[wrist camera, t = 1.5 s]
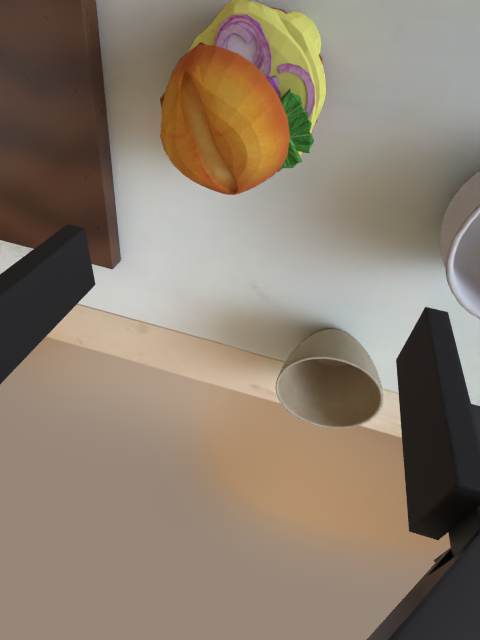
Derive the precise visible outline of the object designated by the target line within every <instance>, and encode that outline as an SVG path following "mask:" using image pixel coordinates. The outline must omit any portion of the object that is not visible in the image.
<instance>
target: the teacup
mask: <svg viewBox="0 0 480 640" xmlns="http://www.w3.org/2000/svg"><path fill="white" fill-rule="evenodd" d="M440 247H441V253H442V257H443V261H444V265H445V268H446V277H447V281H448V284H449V287H450V289H451V291H452V294H453V295H454V296H455V298H456V300H457V301H458V302H459V304H460V305H461V306H462V307H463V308H465V309H466V310H467V311H468V312H469V313H471V314H472V315H474V316H476V317H477V318H479V319H480V171H478V172H477V173H476V174H475V175H473V176H472V177H471V178H470V179H469V180H468V181H467V182H466V183H464V185H463V186H462V187H461V188H460V189H459V190H458V191H457V193H456V194H455V195H454V197H453V199H452V200H451V202H450V203H449V205H448V207H447V209H446V212H445V214H444V217H443V220H442V224H441V229H440Z"/></svg>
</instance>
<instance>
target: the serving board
mask: <svg viewBox="0 0 480 640" xmlns="http://www.w3.org/2000/svg"><path fill="white" fill-rule="evenodd" d="M67 224H69V225H73V226H77V227H82V228H85V231H86V237H87V242H88V248H89V253H90V258H91V264H94V265H98V266H102V267H106V268H110V269H113V268H114V267H115V266H116V265H117V264H118V263H119V262H120V261H121V259H120V248H119V238H118V228H117V217H116V207H115V197H114V187H113V176H112V166H111V156H110V145H109V135H108V125H107V114H106V104H105V94H104V83H103V73H102V63H101V52H100V42H99V32H98V22H97V11H96V1H95V0H0V240H2V241H6V242H10V243H14V244H18V245H22V246H25V247H29V248H33V249H35V248H36V247H38V246H39V245H40V244H42V243H43V242H44V241H46V240H47V239H48V238H50V237H51V236H52V235H54V234H55V233H56V232H58V231H59V230H60V229H62V228H63V227H64V226H66V225H67Z"/></svg>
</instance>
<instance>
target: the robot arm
mask: <svg viewBox="0 0 480 640" xmlns="http://www.w3.org/2000/svg"><path fill="white" fill-rule="evenodd" d="M94 285H95V280H94V275H93V269H92V264H91V258H90V253H89V248H88V242H87V237H86V231H85V228H82V227H77V226H73V225H69V224H67V225H66V226H64V227H63V228H62V229H60V230H59V231H58V232H56V233H55V234H54V235H52V236H51V237H50V238H48V239H47V240H46V241H44V242H43V243H42V244H40V245H39V246H38V247H36V248H35V249H34V250H32V251H31V252H30V253H28V254H27V255H26V256H24V257H23V258H22V259H20V260H19V261H18V262H16V263H15V264H14V265H12V266H11V267H10V268H8V269H7V270H6V271H4V272H3V273H2V274H0V384H1V383H2V382H3V381H4V380H5V379H6V378H7V376H8V375H9V374H10V373H11V372H12V371H13V370H14V369H15V368H16V367H17V366H18V365H19V364H20V363H21V362H22V361H23V360H24V359H25V358H26V357H27V356H28V355H29V353H30V352H31V351H32V350H33V349H34V348H35V347H36V346H37V345H38V344H39V343H40V342H41V341H42V340H43V339H44V338H45V337H46V336H47V335H48V334H49V333H50V331H51V330H52V329H53V328H54V327H55V326H56V325H57V324H58V323H59V322H60V321H61V320H62V319H63V318H64V317H65V316H66V315H67V314H68V313H69V312H70V311H71V310H72V308H73V307H74V306H75V305H76V304H77V303H78V302H79V301H80V300H81V299H82V298H83V297H84V296H85V295H86V294H87V293H88V292H89V291H90V290H91V289H92V288H93V286H94ZM396 363H397V376H398V389H399V402H400V416H401V429H402V442H403V456H404V468H405V482H406V494H407V508H408V522H409V531H410V532H413V533H416V534H420V535H423V536H426V537H430V538H433V539H436V540H439V539H440V538H441V537H443V536H444V535H445V534H446V533H447V532H449V538H450V545H451V548H450V549H448V550H447V551H446V552H444V553H443V554H442V555H440V556H439V557H438V558H436V559H435V560H434V562H435V564H434V565H433V566H432V568H431V569H430V570H429V571H428V572H427V573H426V574H425V575H424V577H423V578H422V579H421V580H420V581H419V582H418V583H417V584H416V585H415V587H414V588H413V589H412V590H411V591H410V592H409V593H408V594H407V595H406V597H405V598H404V599H403V600H402V601H401V602H400V603H399V604H398V605H397V607H396V608H395V609H394V610H393V611H392V612H391V613H390V614H389V615H388V617H387V618H386V619H385V620H384V621H383V622H382V623H381V624H380V625H379V627H378V628H377V629H376V630H375V631H374V632H373V633H372V634H371V635H370V637H369V638H368V639H367V640H480V406H477V405H473V404H471V403H470V399H469V395H468V391H467V387H466V383H465V379H464V375H463V371H462V367H461V363H460V359H459V355H458V351H457V347H456V343H455V339H454V335H453V331H452V327H451V323H450V319H449V315H448V312H445V311H440V310H436V309H432V308H427V307H425V309H424V311H423V312H422V314H421V316H420V318H419V320H418V321H417V323H416V325H415V327H414V329H413V330H412V332H411V334H410V336H409V338H408V340H407V341H406V343H405V345H404V347H403V349H402V350H401V352H400V354H399V356H398V358H397V360H396Z"/></svg>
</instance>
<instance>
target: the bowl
mask: <svg viewBox="0 0 480 640" xmlns="http://www.w3.org/2000/svg"><path fill="white" fill-rule="evenodd" d="M276 393H277V396H278V398H279V400H280V402H281V403H282V405H283V406H284V407H285V408H286V409H287V410H288V411H289V412H290V413H292V414H293V415H294V416H296V417H298V418H299V419H301V420H303V421H305V422H308V423H310V424H313V425H316V426H321V427H326V428H350V427H355V426H359V425H362V424H364V423H366V422H368V421H370V420H371V419H373V418H374V417H375V416H376V415H377V414H378V413H379V411H380V410H381V408H382V405H383V390H382V385H381V382H380V378H379V375H378V372H377V370H376V368H375V365H374V363H373V361H372V360H371V358H370V356H369V355H368V353H367V352H366V350H365V349H364V348H363V346H362V345H361V344H360V343H359V342H358V341H357V340H356V339H355V338H354V337H353V336H351V335H350V334H349V333H347V332H345V331H342V330H338V329H325V330H321V331H319V332H317V333H315V334H313V335H311V336H310V337H308V338H307V339H305V340H304V341H303V342H302V343H301V344H300V345H299V346H298V347H297V348H296V349H295V350H294V351H293V352H292V354H291V355H290V356H289V358H288V359H287V361H286V362H285V364H284V366H283V367H282V369H281V371H280V374H279V376H278V378H277V381H276Z"/></svg>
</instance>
